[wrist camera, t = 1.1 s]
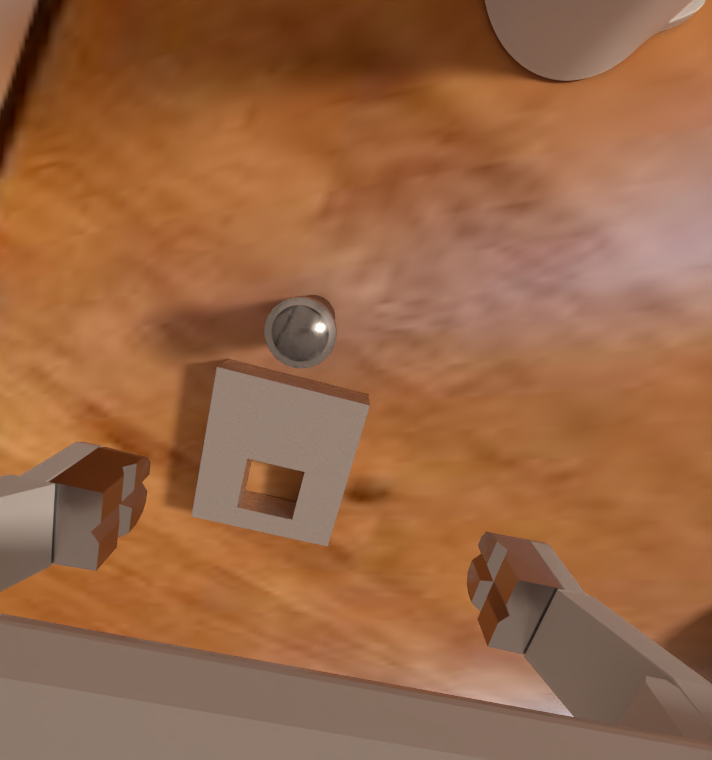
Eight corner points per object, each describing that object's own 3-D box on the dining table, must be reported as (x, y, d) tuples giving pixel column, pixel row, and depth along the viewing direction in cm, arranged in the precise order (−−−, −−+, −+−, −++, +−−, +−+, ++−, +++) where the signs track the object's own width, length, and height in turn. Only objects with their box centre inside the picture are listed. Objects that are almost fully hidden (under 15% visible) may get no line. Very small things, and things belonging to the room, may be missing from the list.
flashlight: (292, 283, 34) (272, 289, 26) (346, 297, 35) (343, 308, 26) (281, 335, 36) (258, 358, 27) (333, 349, 36) (326, 375, 27)
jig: (227, 358, 36) (216, 366, 33) (368, 394, 37) (369, 405, 34) (203, 498, 41) (191, 516, 38) (329, 527, 42) (327, 546, 39)
